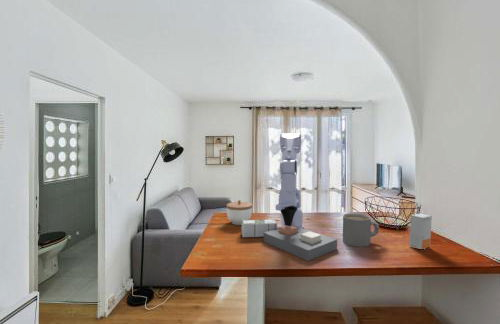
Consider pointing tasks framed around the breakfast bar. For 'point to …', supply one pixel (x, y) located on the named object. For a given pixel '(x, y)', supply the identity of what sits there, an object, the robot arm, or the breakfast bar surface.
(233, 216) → the lidded bowl
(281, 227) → the terracotta key
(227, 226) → the breakfast bar surface
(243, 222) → the syrup box
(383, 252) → the breakfast bar surface
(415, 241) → the skincare box
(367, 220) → the coffee mug
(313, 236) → the cream key
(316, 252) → the key board
